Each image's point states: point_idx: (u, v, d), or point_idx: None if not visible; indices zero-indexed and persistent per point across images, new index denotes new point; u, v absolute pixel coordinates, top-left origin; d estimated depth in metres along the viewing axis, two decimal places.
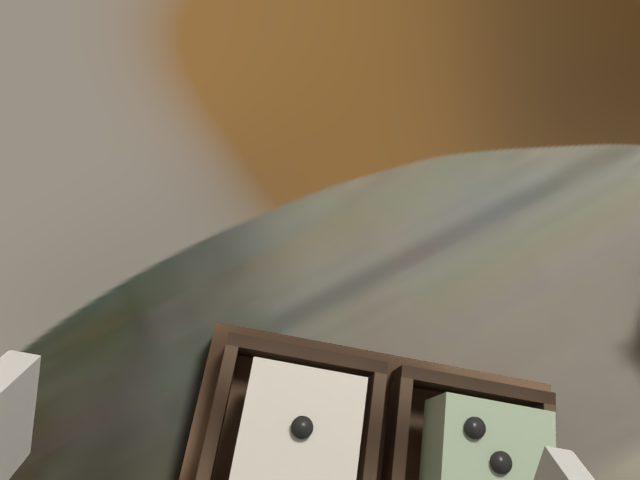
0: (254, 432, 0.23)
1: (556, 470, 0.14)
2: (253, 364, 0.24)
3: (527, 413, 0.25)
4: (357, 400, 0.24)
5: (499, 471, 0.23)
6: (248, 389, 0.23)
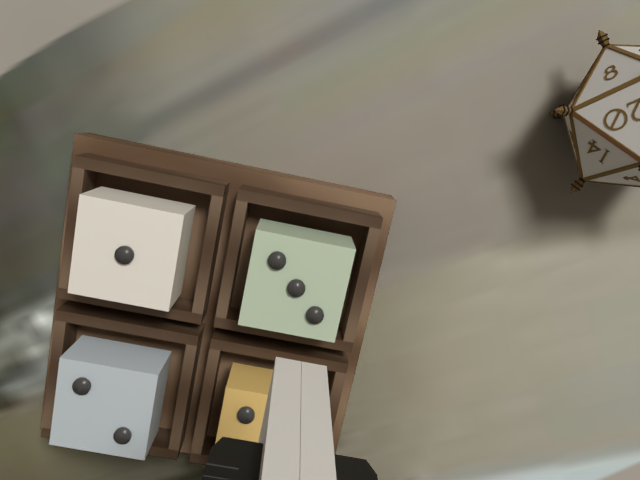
0: (85, 256, 0.27)
1: None
2: (79, 201, 0.27)
3: (329, 249, 0.28)
4: (173, 234, 0.27)
5: (293, 294, 0.28)
6: (77, 222, 0.27)
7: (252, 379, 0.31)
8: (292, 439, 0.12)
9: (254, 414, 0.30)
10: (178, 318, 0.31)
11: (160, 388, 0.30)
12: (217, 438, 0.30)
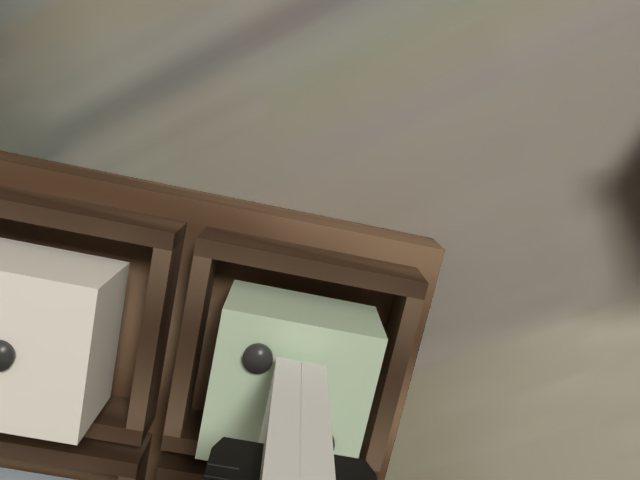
0: None
1: None
2: None
3: (343, 340, 0.17)
4: (81, 320, 0.16)
5: None
6: None
7: None
8: (293, 439, 0.12)
9: None
10: (105, 437, 0.20)
11: None
12: None
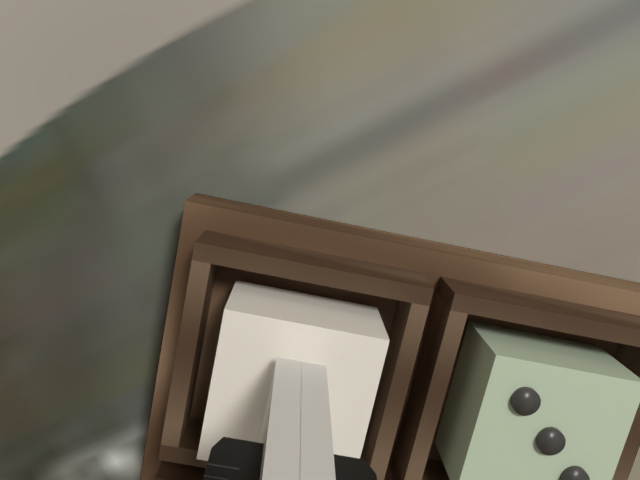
0: (227, 404, 0.17)
1: None
2: (224, 320, 0.17)
3: (605, 384, 0.18)
4: (370, 369, 0.17)
5: (545, 450, 0.18)
6: (218, 352, 0.17)
7: None
8: (293, 439, 0.12)
9: None
10: None
11: None
12: None
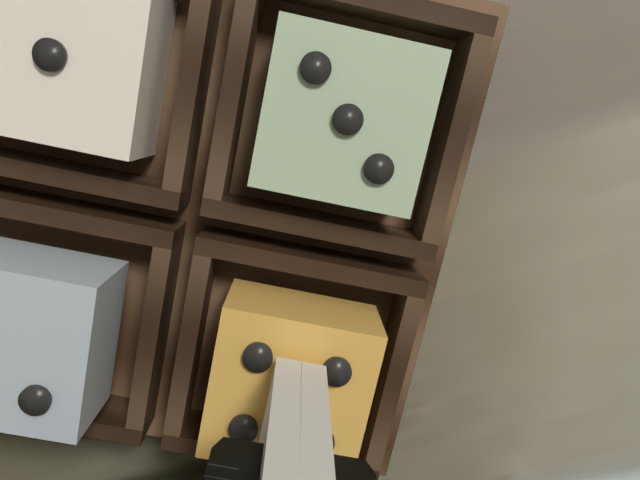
0: None
1: None
2: None
3: (405, 50, 0.16)
4: (135, 18, 0.16)
5: (343, 131, 0.16)
6: None
7: (268, 300, 0.18)
8: (293, 439, 0.12)
9: (272, 356, 0.17)
10: (138, 199, 0.18)
11: (106, 319, 0.17)
12: (207, 399, 0.17)
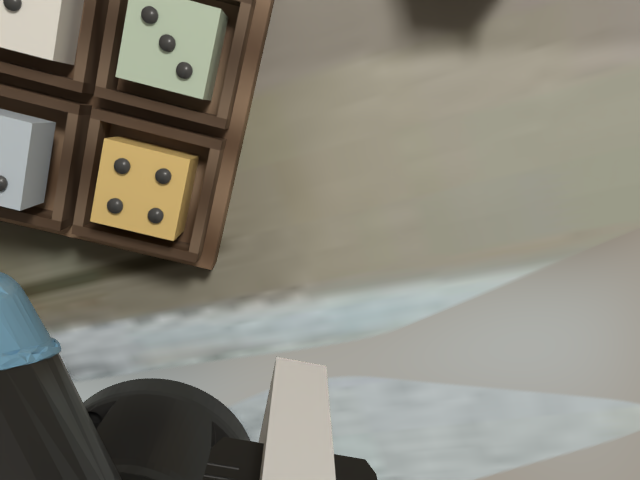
0: None
1: None
2: None
3: (197, 8, 0.31)
4: None
5: (165, 49, 0.31)
6: None
7: (133, 142, 0.34)
8: (293, 439, 0.12)
9: (130, 166, 0.33)
10: (60, 85, 0.33)
11: (39, 147, 0.32)
12: (96, 188, 0.33)
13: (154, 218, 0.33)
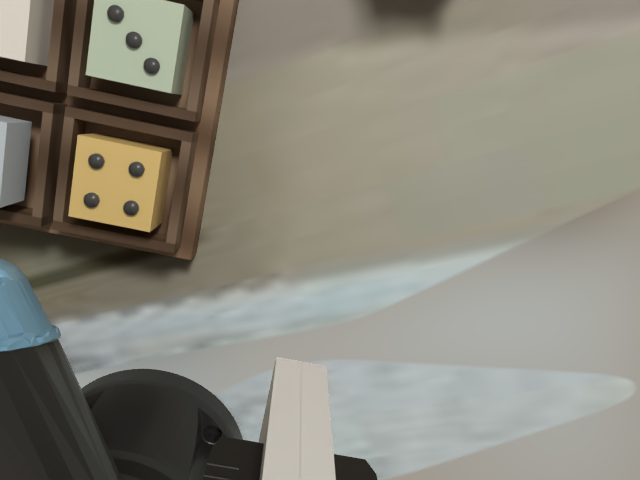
0: None
1: None
2: None
3: (160, 4, 0.32)
4: None
5: (132, 46, 0.32)
6: None
7: (107, 138, 0.35)
8: (293, 439, 0.12)
9: (104, 161, 0.34)
10: (34, 85, 0.34)
11: (16, 146, 0.34)
12: (73, 184, 0.34)
13: (130, 210, 0.34)
